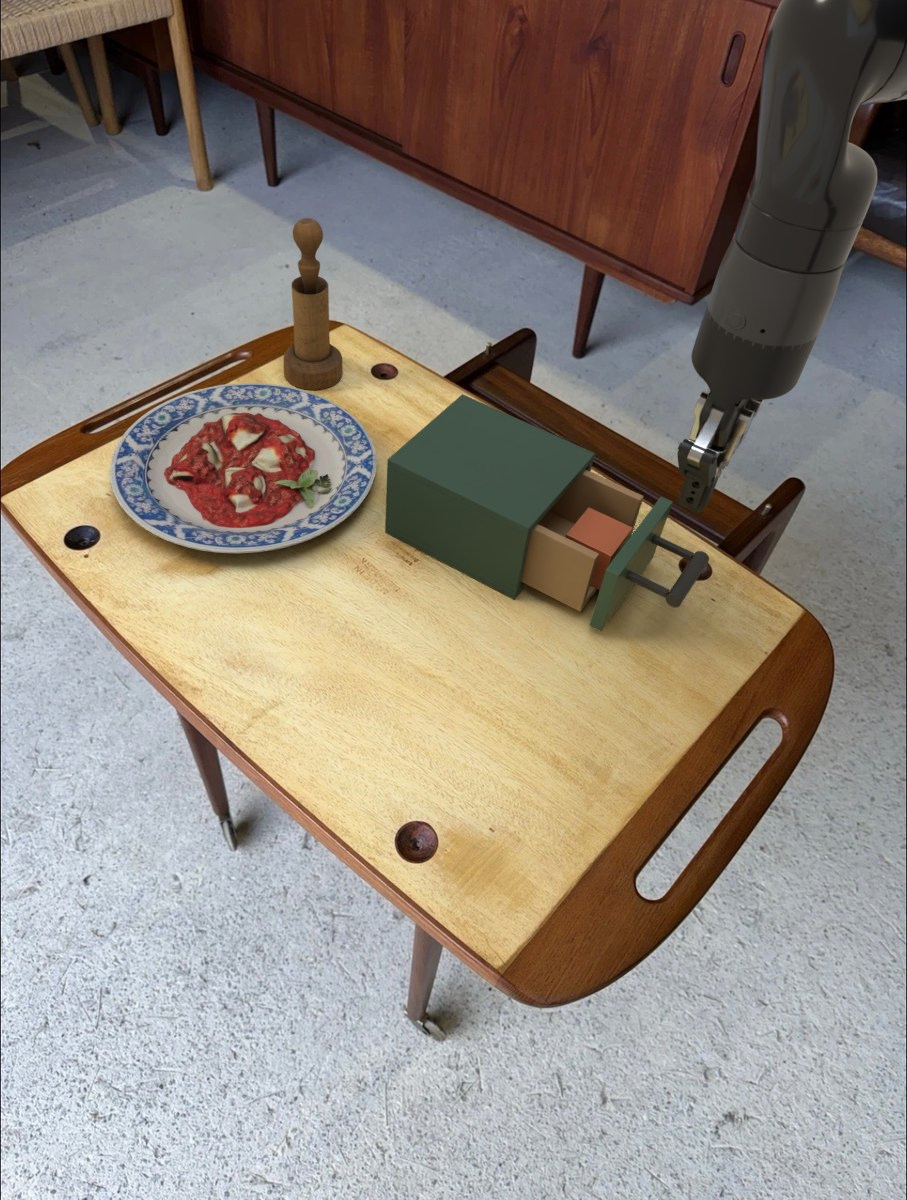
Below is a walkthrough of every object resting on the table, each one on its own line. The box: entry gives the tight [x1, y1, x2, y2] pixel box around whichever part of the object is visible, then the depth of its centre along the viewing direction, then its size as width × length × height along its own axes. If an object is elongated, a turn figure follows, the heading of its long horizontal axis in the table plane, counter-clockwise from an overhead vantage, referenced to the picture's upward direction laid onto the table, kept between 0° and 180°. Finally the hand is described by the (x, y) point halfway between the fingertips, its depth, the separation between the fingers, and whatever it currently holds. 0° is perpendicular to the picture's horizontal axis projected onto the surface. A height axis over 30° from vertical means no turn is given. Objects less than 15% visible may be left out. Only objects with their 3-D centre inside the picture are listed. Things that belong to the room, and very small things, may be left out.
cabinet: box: [384, 393, 596, 601], centre depth 85 cm, size 15×13×9 cm
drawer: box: [521, 470, 710, 632], centre depth 81 cm, size 19×11×7 cm, turn 57°
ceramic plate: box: [109, 382, 377, 554], centre depth 89 cm, size 26×26×3 cm
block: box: [565, 507, 634, 591], centre depth 81 cm, size 4×4×4 cm
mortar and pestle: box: [283, 217, 343, 391], centre depth 96 cm, size 7×6×18 cm
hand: (692, 503), depth 72 cm, fingers closed
